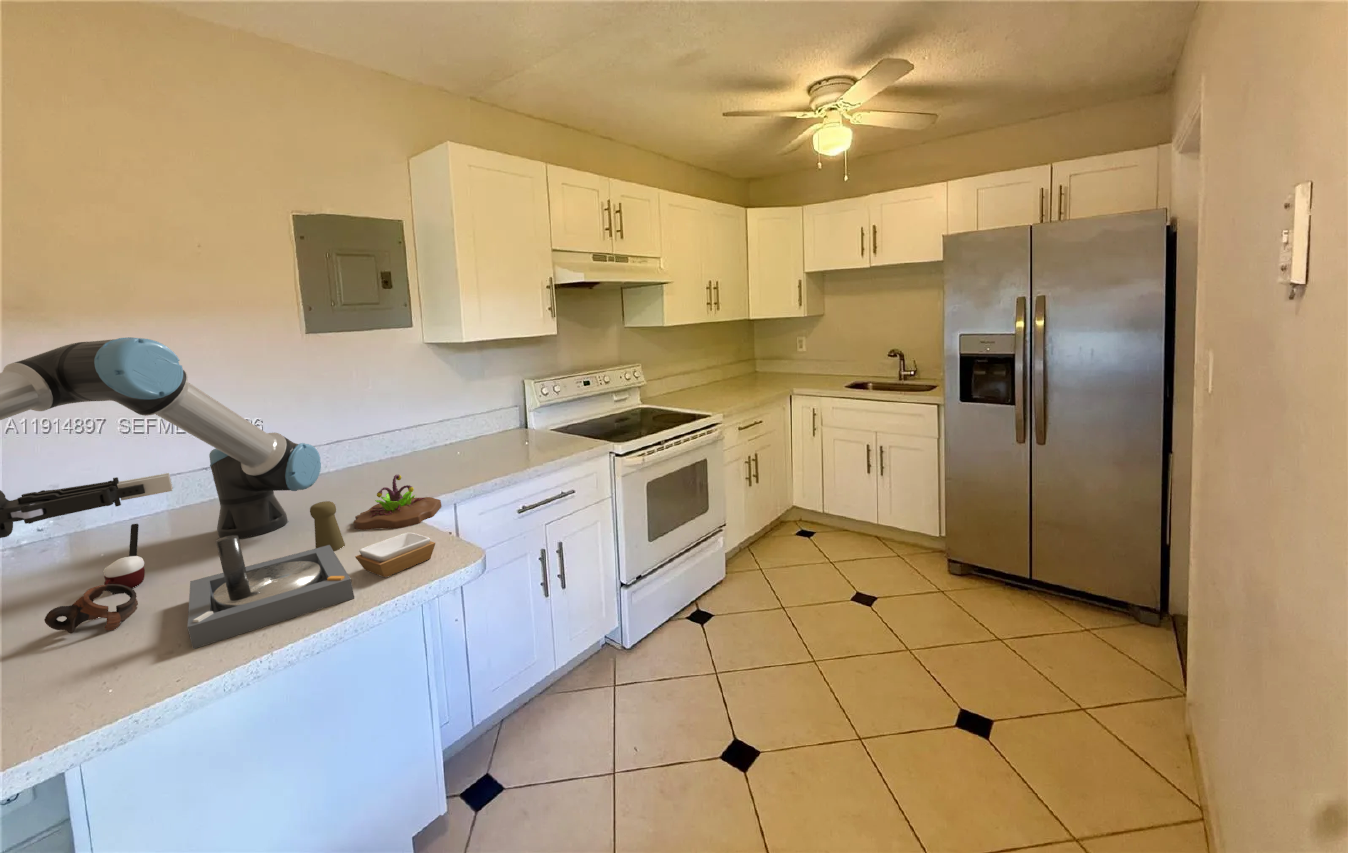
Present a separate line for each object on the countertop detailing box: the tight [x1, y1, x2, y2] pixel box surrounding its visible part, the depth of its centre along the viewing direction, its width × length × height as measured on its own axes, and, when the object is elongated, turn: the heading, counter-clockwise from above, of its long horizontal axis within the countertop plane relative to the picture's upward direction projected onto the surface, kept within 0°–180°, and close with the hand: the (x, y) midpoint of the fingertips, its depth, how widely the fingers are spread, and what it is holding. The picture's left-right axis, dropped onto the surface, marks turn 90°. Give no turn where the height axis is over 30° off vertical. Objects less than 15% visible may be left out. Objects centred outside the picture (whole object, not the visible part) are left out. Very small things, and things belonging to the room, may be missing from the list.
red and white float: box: [102, 523, 146, 589], centre depth 126 cm, size 10×6×12 cm, turn 156°
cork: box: [309, 500, 346, 552], centre depth 139 cm, size 6×6×11 cm
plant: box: [353, 474, 442, 531], centre depth 159 cm, size 20×20×11 cm
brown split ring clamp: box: [44, 584, 139, 634], centre depth 108 cm, size 12×10×8 cm
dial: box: [213, 535, 322, 611], centre depth 114 cm, size 17×17×13 cm
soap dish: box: [354, 532, 436, 578], centre depth 127 cm, size 12×10×5 cm
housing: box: [187, 545, 355, 650], centre depth 115 cm, size 24×24×4 cm
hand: (170, 481), depth 103 cm, fingers closed
